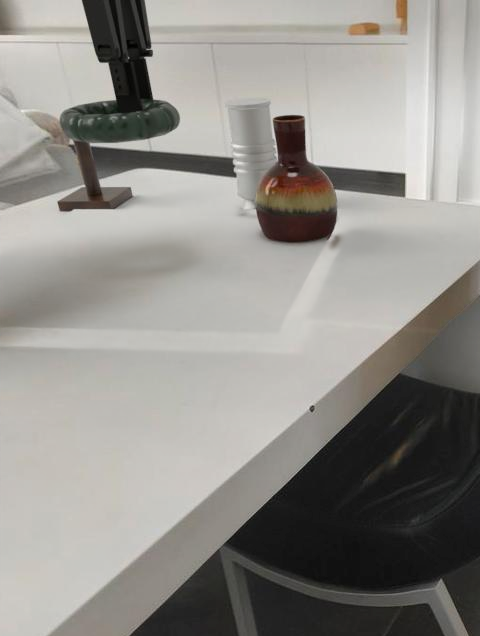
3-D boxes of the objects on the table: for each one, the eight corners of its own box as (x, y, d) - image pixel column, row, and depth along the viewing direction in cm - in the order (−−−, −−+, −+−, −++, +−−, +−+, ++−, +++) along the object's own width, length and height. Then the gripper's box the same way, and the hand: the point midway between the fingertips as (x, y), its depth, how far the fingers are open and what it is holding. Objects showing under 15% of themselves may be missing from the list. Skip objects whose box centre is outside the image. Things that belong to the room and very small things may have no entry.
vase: (266, 229, 100) (252, 111, 91) (341, 227, 100) (335, 108, 91) (254, 255, 92) (237, 127, 82) (336, 253, 91) (328, 124, 82)
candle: (287, 201, 112) (277, 97, 103) (273, 213, 107) (261, 105, 98) (248, 199, 114) (235, 97, 105) (232, 211, 108) (216, 105, 99)
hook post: (59, 210, 113) (32, 119, 104) (84, 196, 120) (60, 109, 112) (111, 210, 112) (88, 118, 103) (132, 195, 119) (113, 108, 110)
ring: (42, 145, 76) (34, 117, 74) (94, 123, 86) (88, 97, 84) (156, 145, 74) (150, 116, 72) (195, 122, 84) (191, 96, 83)
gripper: (86, -146, 63) (143, 135, 77) (152, -128, 76) (190, 111, 90) (11, -142, 64) (80, 135, 78) (88, -125, 77) (136, 111, 91)
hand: (139, 122), depth 84 cm, fingers closed on ring, 3 cm apart
